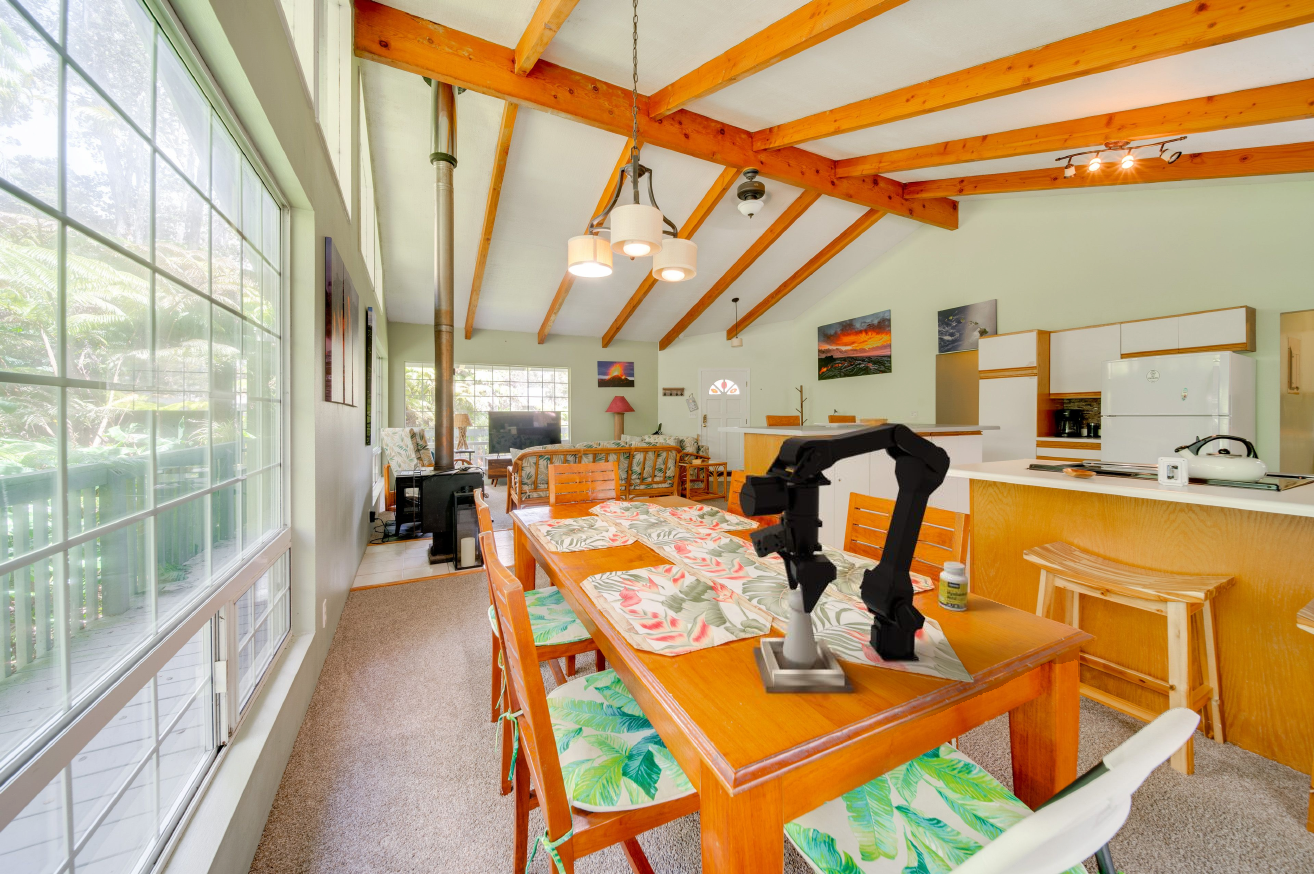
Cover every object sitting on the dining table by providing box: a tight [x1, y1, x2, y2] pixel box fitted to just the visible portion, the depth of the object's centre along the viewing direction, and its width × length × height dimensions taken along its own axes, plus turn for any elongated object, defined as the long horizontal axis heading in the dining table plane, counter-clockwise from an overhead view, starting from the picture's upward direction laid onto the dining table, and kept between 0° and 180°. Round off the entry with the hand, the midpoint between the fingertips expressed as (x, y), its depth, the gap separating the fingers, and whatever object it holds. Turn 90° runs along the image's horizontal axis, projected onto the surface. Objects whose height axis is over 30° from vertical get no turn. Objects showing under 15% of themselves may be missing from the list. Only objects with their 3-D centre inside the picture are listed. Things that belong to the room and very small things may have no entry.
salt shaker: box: [783, 590, 817, 670], centre depth 82 cm, size 6×6×13 cm
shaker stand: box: [752, 637, 854, 694], centre depth 82 cm, size 14×12×3 cm
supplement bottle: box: [938, 561, 969, 612], centre depth 106 cm, size 5×5×10 cm
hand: (799, 600), depth 81 cm, fingers open, 9 cm apart
